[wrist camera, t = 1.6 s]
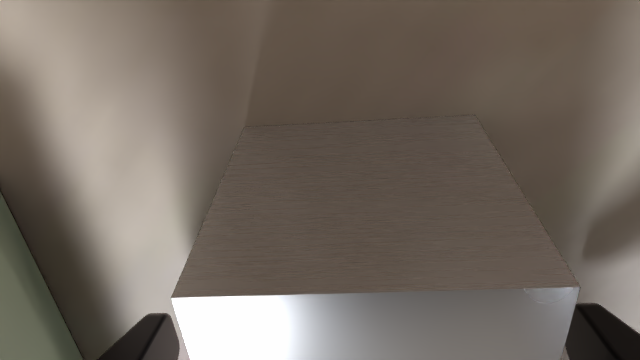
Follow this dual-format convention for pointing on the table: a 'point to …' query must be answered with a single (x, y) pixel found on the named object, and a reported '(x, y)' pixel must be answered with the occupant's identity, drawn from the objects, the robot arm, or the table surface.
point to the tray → (27, 303)
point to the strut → (373, 250)
